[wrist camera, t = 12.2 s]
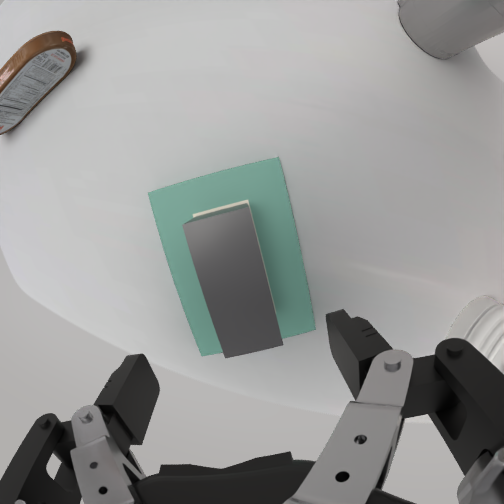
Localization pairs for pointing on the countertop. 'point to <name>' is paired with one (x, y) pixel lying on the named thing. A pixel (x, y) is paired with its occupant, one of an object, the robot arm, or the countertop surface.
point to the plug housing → (233, 280)
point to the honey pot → (482, 328)
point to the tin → (33, 75)
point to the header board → (268, 235)
